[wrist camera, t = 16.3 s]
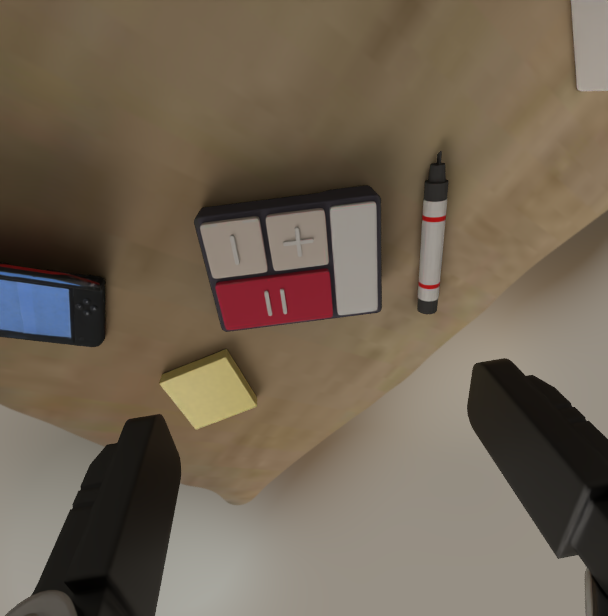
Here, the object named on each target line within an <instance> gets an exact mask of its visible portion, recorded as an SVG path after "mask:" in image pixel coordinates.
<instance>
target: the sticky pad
mask: <svg viewBox="0 0 608 616" xmlns="http://www.w3.org/2000/svg"><path fill="white" fill-rule="evenodd" d="M159 384H160V385H161V386H162V388H163V389H164V390H165V391H166V393H167V394H168V395H169V396H170V398H171V399H172V400H173V402H174V403H175V404H176V405H177V407H178V408H179V409H180V410H181V412H182V413H183V414H184V415H185V417H186V418H187V419H188V420H189V422H190V423H191V424H192V425H193V427H194V428H195V429H199V428H202V427H204V426H207V425H210V424H212V423H215V422H218V421H220V420H223V419H225V418H228V417H231V416H233V415H236V414H239V413H241V412H244V411H247V410H249V409H252V408H254V407H257V397H256V395H255V394H254V392H253V390H252V389H251V387H250V386H249V384H248V382H247V381H246V379H245V378H244V376H243V374H242V373H241V371H240V370H239V368H238V366H237V365H236V363H235V362H234V360H233V358H232V357H231V355H230V354H229V352H228V350H227V349H225V350H222V351H220V352H217V353H215V354H212V355H210V356H207V357H205V358H202V359H200V360H197V361H195V362H192V363H190V364H187V365H185V366H182V367H180V368H177V369H175V370H172V371H170V372H167V373H164V374H162V376H161V379H160V382H159Z"/></svg>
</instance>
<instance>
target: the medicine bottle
mask: <svg viewBox="0 0 608 616" xmlns="http://www.w3.org/2000/svg"><path fill="white" fill-rule="evenodd" d="M571 10H572V24H573V39H574V53H575V68H576V82H577V90H579V91H608V0H571Z"/></svg>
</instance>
